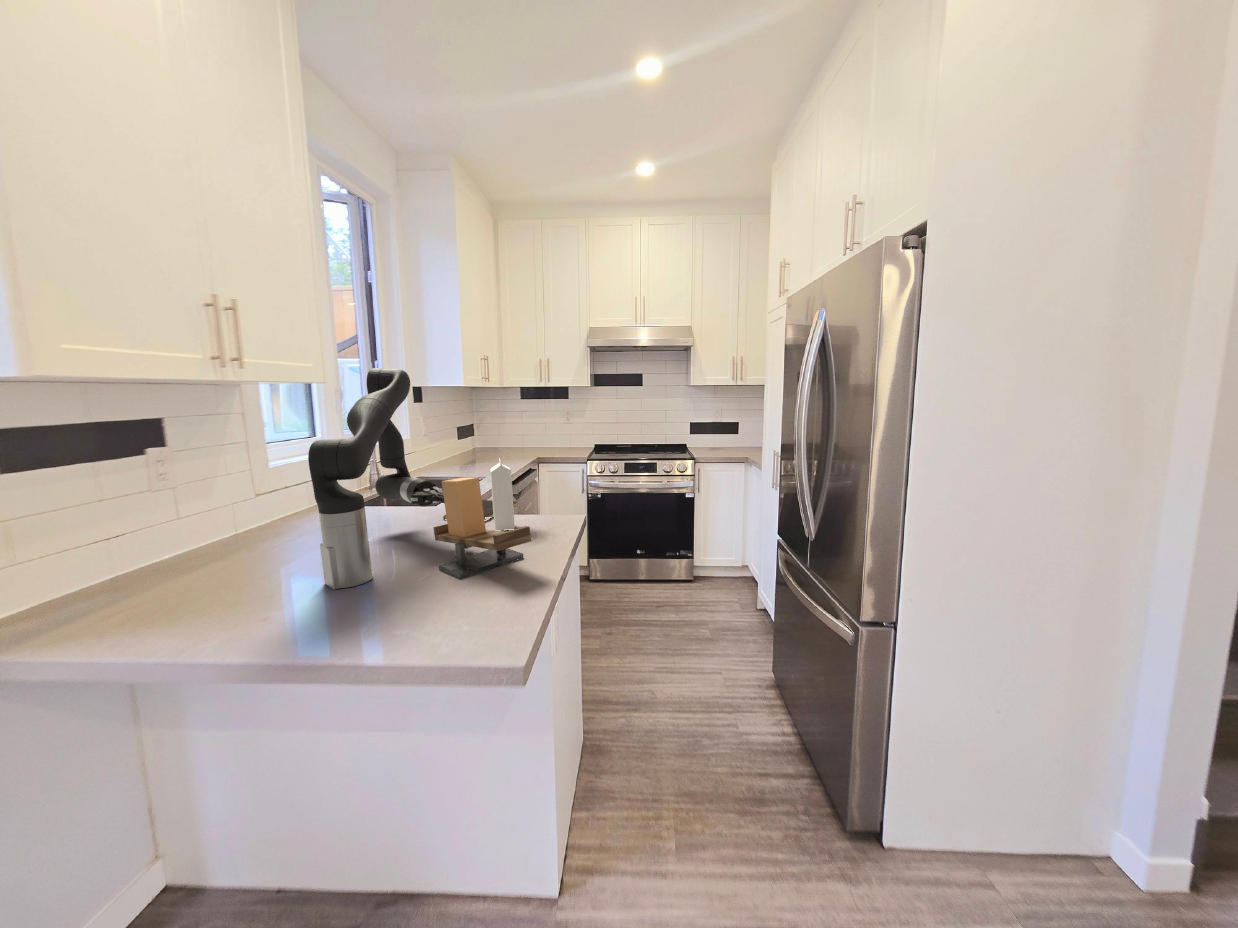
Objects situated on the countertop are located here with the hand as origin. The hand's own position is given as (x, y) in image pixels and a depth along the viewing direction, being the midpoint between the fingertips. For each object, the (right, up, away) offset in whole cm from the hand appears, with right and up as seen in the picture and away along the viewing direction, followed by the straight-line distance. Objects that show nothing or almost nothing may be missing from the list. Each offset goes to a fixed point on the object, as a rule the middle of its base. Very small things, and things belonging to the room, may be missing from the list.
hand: (448, 499), depth 133 cm
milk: (+9, -11, +24) cm, 28 cm away
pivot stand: (+11, -16, -8) cm, 21 cm away
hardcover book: (-3, -9, +45) cm, 46 cm away
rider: (+6, -8, -4) cm, 11 cm away
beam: (+11, -10, -8) cm, 17 cm away
